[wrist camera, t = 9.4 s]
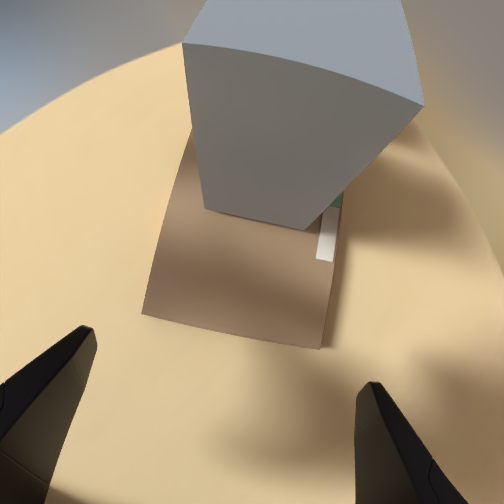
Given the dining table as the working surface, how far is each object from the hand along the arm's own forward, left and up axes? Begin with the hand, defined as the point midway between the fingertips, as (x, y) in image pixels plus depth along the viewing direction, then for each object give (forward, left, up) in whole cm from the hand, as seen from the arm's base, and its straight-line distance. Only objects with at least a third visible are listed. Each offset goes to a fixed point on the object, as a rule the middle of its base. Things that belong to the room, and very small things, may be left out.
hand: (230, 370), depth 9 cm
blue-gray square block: (+8, -5, -5) cm, 11 cm away
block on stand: (+8, -4, -7) cm, 11 cm away
